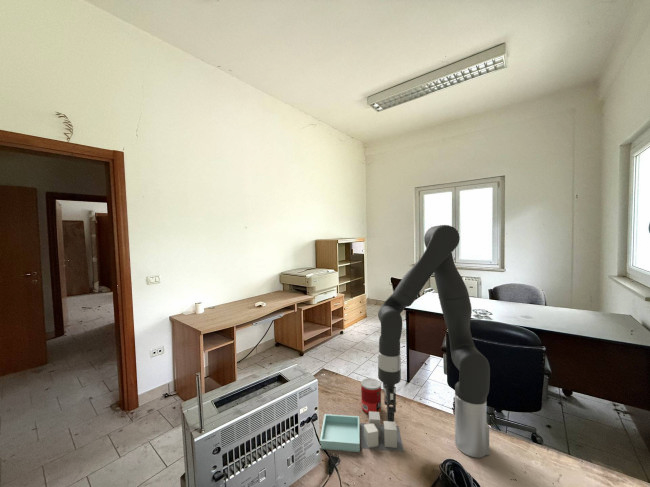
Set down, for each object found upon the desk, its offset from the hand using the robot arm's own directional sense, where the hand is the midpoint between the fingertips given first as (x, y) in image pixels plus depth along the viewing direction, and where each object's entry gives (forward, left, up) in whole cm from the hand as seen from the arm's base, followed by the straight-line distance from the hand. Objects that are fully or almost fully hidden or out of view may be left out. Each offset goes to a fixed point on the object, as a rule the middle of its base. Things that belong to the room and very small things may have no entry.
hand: (389, 412), depth 89 cm
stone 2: (+6, 0, -11) cm, 12 cm away
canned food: (+5, -18, -11) cm, 21 cm away
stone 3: (0, 0, -11) cm, 11 cm away
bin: (+17, -2, -11) cm, 20 cm away
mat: (+3, -3, -11) cm, 12 cm away
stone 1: (+5, -5, -11) cm, 12 cm away
